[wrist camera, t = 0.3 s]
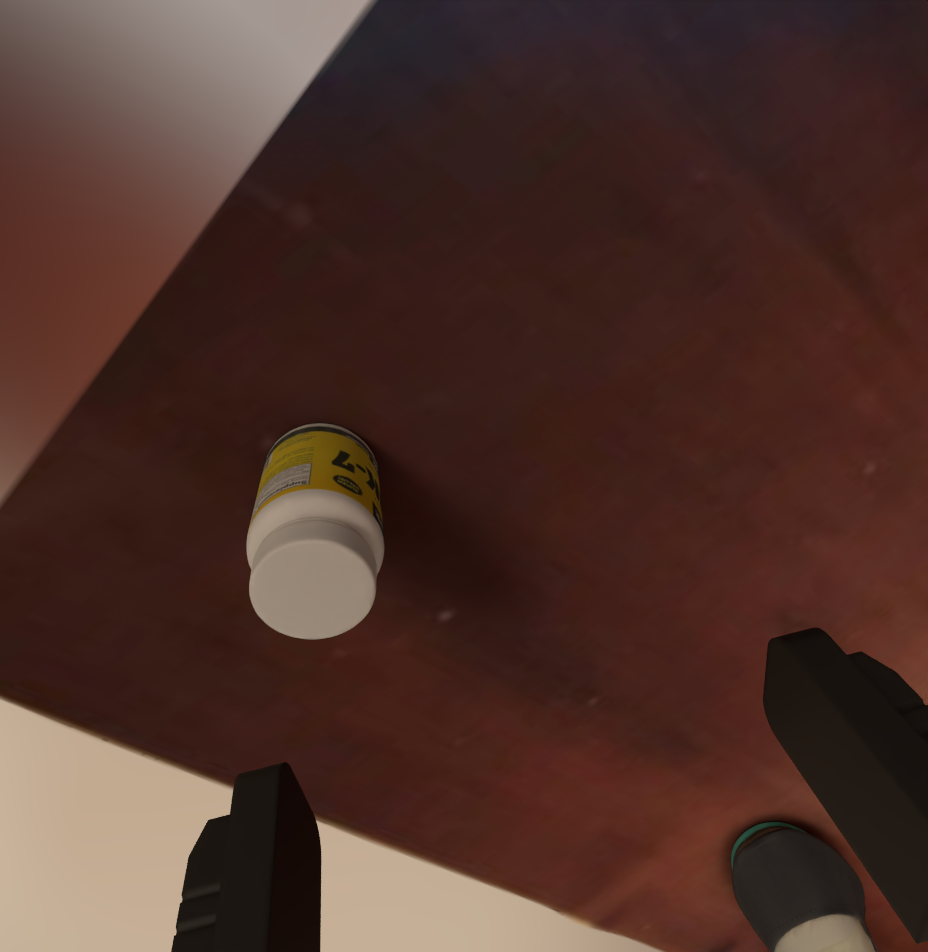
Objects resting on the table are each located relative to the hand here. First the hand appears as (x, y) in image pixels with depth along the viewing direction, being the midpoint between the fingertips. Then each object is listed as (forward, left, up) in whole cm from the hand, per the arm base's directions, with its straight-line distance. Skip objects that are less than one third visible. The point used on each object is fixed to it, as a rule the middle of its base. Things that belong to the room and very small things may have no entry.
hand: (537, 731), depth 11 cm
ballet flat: (+50, -13, -19) cm, 55 cm away
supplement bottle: (0, -6, -19) cm, 20 cm away
